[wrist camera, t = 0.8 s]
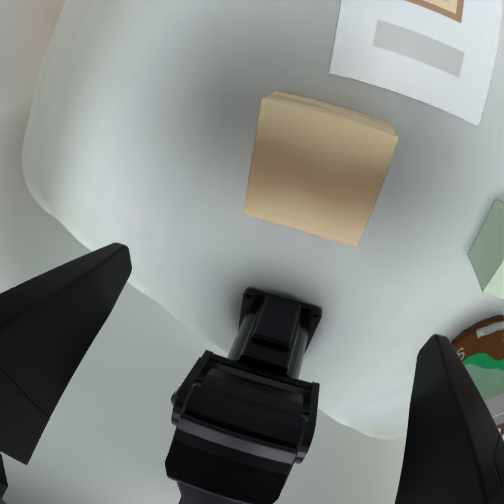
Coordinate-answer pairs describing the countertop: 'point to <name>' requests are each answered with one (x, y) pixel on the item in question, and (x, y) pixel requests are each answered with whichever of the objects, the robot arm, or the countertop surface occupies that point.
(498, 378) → the food container
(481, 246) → the sage brick
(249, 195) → the oak brick
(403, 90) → the page
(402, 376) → the countertop surface
